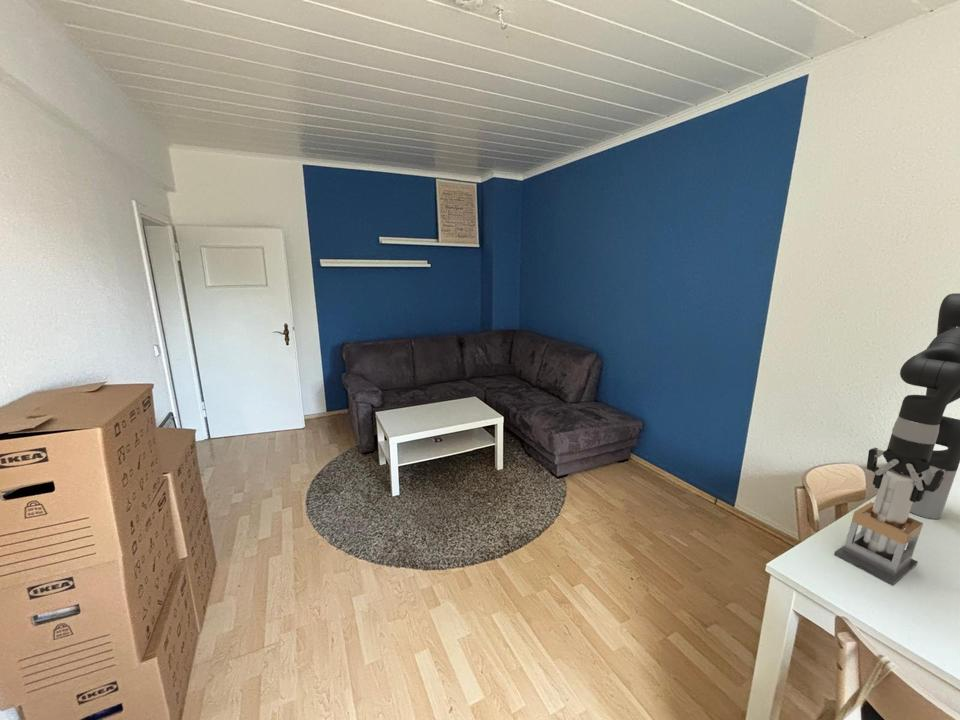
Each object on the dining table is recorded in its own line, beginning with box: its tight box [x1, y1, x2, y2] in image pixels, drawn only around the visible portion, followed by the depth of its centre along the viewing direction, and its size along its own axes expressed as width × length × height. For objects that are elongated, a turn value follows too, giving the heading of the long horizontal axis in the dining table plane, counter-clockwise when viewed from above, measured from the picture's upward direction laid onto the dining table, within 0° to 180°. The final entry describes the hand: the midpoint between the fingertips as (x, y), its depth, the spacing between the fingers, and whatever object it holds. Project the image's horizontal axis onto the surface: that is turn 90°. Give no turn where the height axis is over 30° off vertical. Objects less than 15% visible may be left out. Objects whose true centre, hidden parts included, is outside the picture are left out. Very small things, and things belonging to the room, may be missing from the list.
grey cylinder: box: [861, 468, 916, 561], centre depth 104 cm, size 6×6×25 cm
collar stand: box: [833, 501, 924, 586], centre depth 105 cm, size 16×12×14 cm
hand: (895, 494), depth 102 cm, fingers closed on grey cylinder, 6 cm apart
